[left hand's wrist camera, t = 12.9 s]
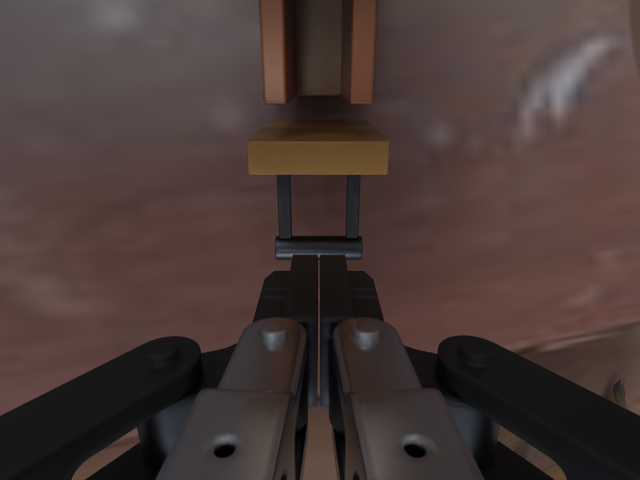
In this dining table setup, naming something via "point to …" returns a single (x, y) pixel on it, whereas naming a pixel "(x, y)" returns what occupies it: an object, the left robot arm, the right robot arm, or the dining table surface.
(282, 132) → the drawer
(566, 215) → the dining table surface
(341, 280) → the left robot arm
